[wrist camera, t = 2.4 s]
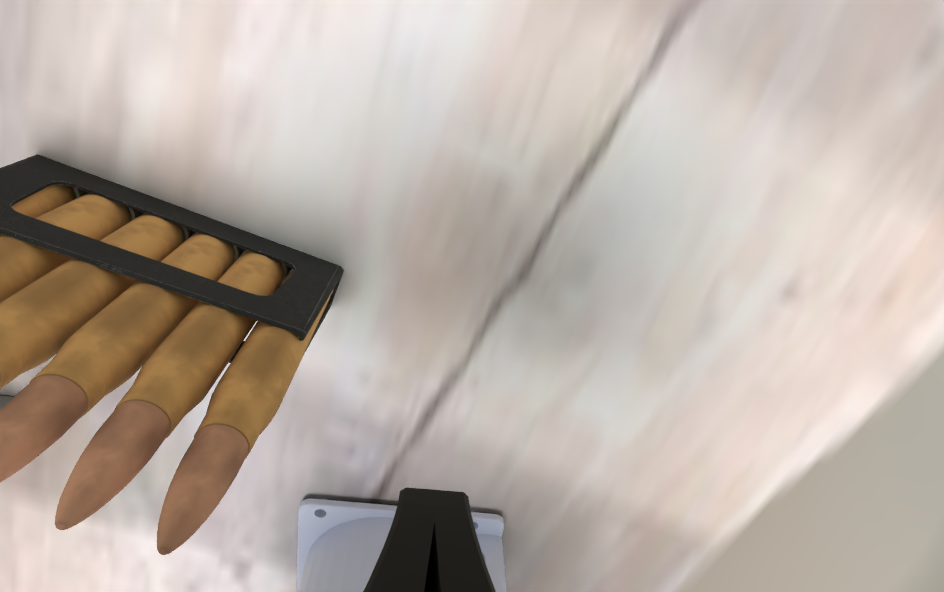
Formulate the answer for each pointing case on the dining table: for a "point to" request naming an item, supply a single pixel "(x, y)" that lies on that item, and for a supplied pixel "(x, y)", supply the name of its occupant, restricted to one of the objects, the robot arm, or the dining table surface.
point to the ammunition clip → (143, 334)
